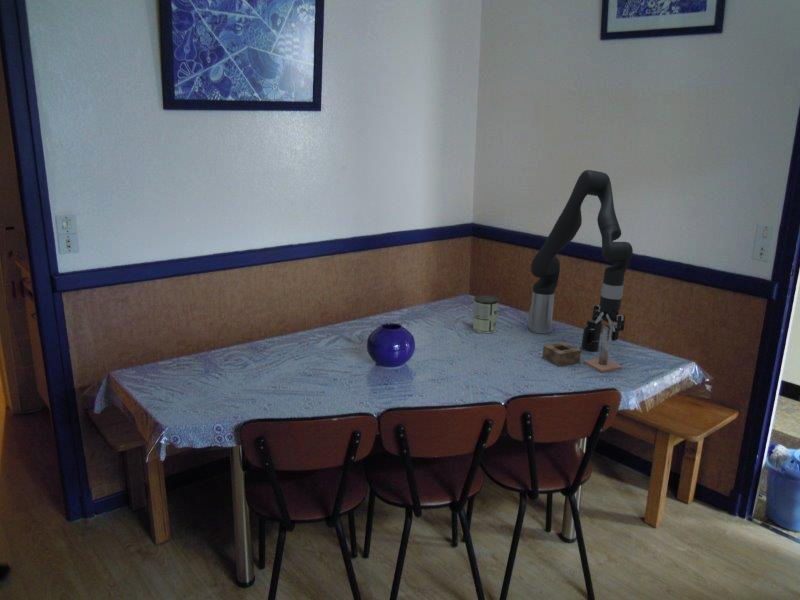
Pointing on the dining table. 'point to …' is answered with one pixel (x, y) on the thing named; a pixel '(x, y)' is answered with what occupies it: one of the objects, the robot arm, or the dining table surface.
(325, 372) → the dining table surface
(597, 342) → the supplement bottle
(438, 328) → the dining table surface
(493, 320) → the coffee can
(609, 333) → the metal pin
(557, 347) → the walnut block
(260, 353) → the dining table surface
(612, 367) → the terracotta mat
